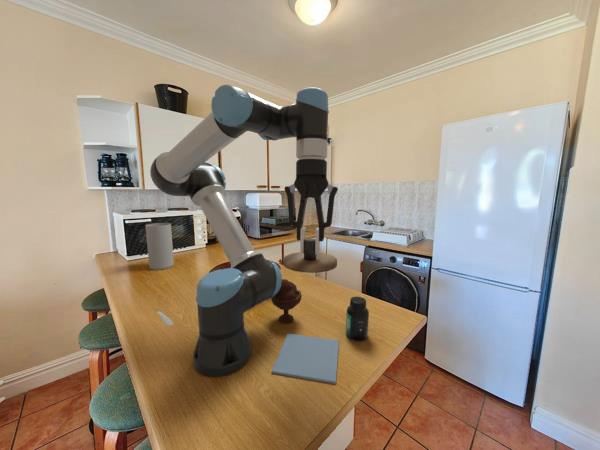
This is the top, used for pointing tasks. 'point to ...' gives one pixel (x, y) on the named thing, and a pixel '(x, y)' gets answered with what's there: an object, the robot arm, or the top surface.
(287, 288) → the ice cream bowl
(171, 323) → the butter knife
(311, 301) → the top surface
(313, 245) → the walnut lid
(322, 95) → the robot arm
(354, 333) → the supplement bottle
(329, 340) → the slate mat
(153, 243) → the cylinder vase
